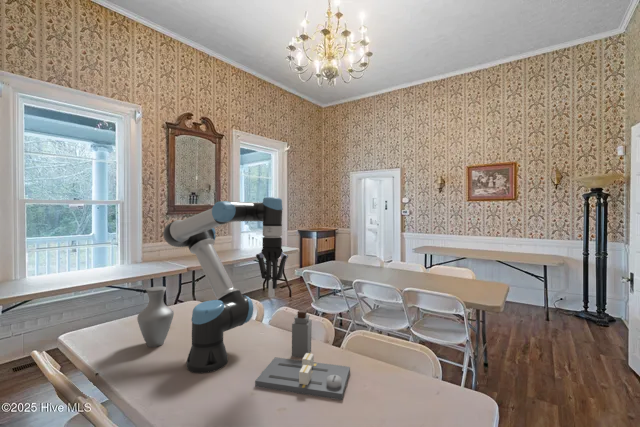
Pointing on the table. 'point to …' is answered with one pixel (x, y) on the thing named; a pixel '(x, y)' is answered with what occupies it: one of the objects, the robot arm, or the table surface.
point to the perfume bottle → (301, 334)
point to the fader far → (308, 359)
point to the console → (322, 384)
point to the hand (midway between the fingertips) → (271, 296)
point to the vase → (155, 318)
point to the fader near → (305, 374)
